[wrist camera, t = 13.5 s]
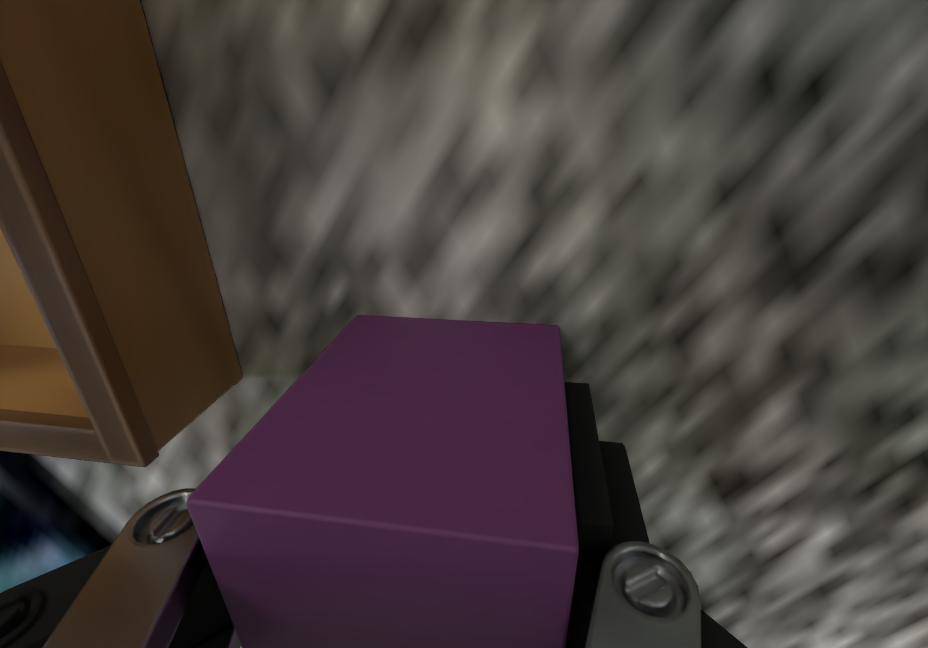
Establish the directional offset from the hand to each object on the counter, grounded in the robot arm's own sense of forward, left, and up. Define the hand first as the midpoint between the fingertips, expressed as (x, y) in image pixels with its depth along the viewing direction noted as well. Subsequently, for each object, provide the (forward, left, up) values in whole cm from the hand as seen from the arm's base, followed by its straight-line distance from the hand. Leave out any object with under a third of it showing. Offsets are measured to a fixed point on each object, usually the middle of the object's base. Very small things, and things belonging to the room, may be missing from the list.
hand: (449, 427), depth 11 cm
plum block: (0, 0, -1) cm, 1 cm away
